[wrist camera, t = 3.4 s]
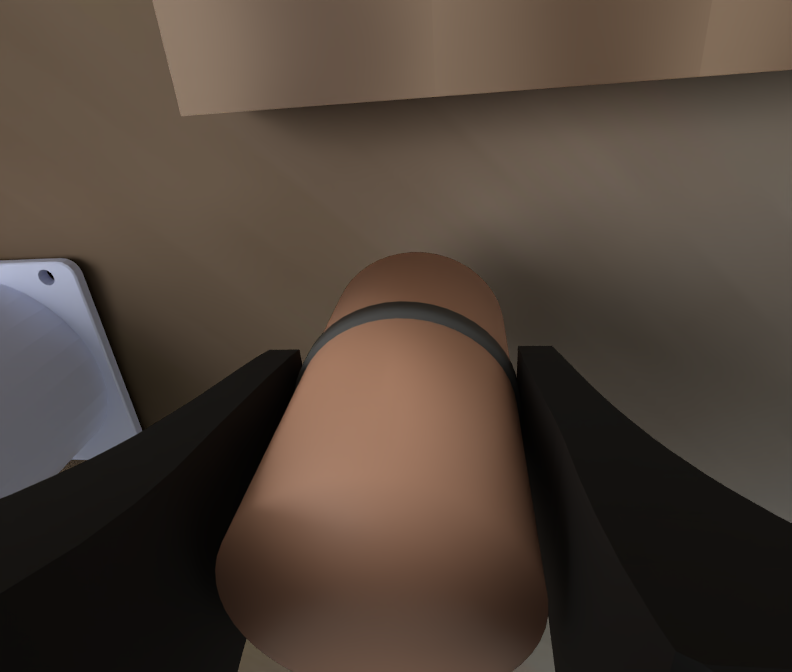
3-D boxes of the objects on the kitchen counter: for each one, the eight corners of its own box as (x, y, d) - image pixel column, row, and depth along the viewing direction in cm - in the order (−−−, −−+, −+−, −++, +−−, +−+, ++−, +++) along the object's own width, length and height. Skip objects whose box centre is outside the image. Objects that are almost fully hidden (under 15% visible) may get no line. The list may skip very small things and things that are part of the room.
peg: (342, 405, 14) (248, 691, 8) (319, 252, 12) (168, 470, 6) (505, 405, 13) (545, 712, 7) (509, 244, 11) (569, 477, 5)
